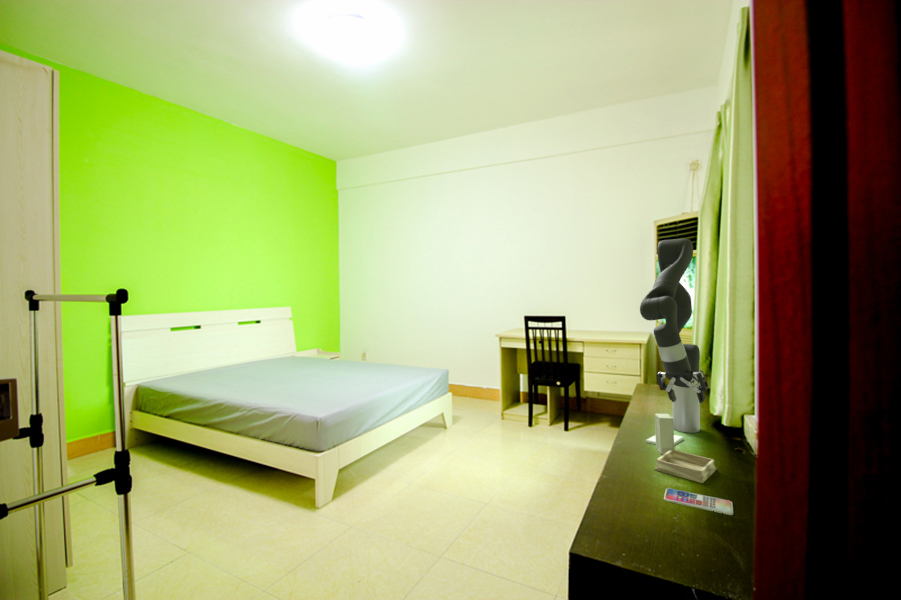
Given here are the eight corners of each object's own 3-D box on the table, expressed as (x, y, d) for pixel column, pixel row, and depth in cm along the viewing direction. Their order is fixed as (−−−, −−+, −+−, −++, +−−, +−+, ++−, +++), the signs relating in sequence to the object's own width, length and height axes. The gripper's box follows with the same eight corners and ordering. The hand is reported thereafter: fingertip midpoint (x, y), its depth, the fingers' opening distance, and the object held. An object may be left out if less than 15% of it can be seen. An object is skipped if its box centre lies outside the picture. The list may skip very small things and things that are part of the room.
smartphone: (733, 514, 100) (663, 498, 108) (733, 518, 100) (663, 502, 108) (732, 500, 106) (666, 486, 114) (732, 504, 106) (666, 490, 114)
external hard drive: (683, 441, 153) (669, 449, 145) (660, 435, 159) (645, 443, 151) (683, 436, 153) (669, 444, 145) (660, 431, 159) (645, 439, 151)
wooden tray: (670, 458, 136) (670, 448, 136) (716, 469, 127) (716, 459, 126) (654, 469, 127) (654, 459, 127) (702, 483, 118) (702, 472, 118)
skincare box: (674, 455, 138) (674, 418, 138) (660, 454, 139) (659, 418, 139) (668, 448, 144) (668, 413, 144) (654, 448, 145) (654, 412, 145)
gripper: (701, 349, 132) (715, 396, 134) (655, 352, 143) (669, 395, 145) (693, 360, 128) (708, 408, 130) (646, 361, 139) (661, 406, 140)
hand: (687, 401), depth 137 cm, fingers open, 8 cm apart
